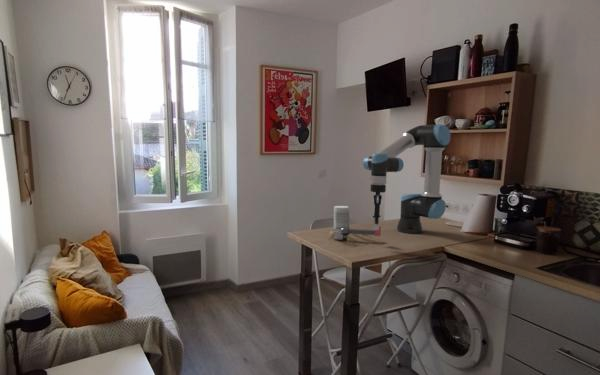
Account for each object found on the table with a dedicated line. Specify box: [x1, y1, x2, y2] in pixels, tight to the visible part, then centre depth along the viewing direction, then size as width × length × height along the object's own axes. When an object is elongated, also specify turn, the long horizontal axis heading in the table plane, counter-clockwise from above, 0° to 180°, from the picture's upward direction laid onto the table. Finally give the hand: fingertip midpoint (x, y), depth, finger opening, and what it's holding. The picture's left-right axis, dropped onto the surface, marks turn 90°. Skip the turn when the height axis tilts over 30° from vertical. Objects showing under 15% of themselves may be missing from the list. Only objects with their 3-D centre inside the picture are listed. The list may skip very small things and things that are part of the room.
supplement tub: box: [333, 205, 350, 230], centre depth 216 cm, size 10×10×15 cm
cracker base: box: [326, 234, 383, 248], centre depth 189 cm, size 23×20×2 cm
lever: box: [333, 225, 382, 240], centre depth 186 cm, size 24×5×8 cm, turn 82°
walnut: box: [329, 230, 335, 239], centre depth 192 cm, size 5×5×4 cm
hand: (376, 229), depth 179 cm, fingers closed
